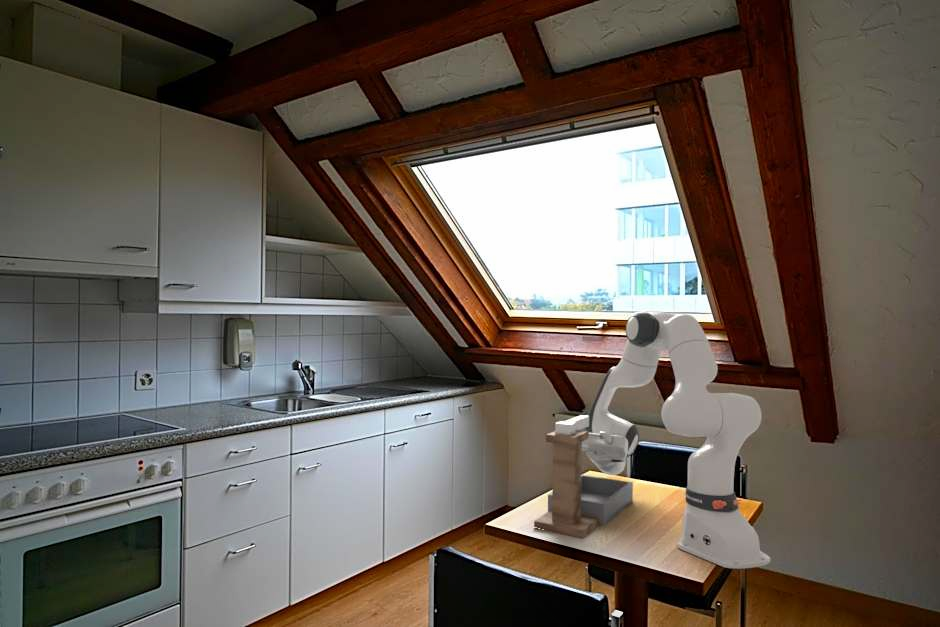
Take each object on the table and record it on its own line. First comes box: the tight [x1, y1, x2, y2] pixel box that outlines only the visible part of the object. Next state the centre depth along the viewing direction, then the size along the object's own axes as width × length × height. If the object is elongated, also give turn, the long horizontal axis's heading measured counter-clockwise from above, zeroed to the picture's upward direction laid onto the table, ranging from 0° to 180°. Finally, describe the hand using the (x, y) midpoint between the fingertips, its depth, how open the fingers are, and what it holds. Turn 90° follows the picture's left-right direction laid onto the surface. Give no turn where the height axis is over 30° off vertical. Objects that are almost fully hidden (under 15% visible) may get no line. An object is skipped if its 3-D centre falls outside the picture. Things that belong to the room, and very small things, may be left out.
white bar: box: [554, 414, 589, 436], centre depth 180 cm, size 17×4×3 cm, turn 149°
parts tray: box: [547, 474, 634, 526], centre depth 193 cm, size 27×17×6 cm, turn 149°
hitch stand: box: [533, 430, 599, 539], centre depth 175 cm, size 12×14×26 cm
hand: (586, 432), depth 188 cm, fingers open, 8 cm apart
